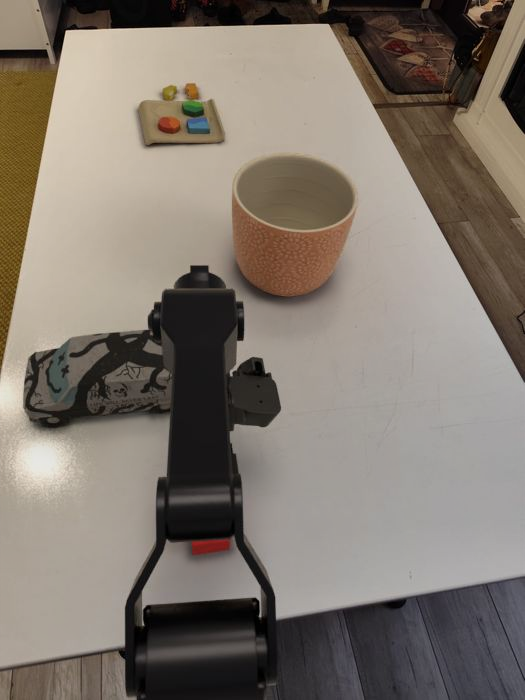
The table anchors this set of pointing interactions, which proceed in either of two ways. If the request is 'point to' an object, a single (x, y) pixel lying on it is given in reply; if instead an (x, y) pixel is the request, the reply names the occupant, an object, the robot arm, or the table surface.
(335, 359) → the table surface
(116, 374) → the toy car
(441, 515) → the table surface
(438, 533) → the table surface
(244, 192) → the planter
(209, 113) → the shape puzzle
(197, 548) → the red cube
